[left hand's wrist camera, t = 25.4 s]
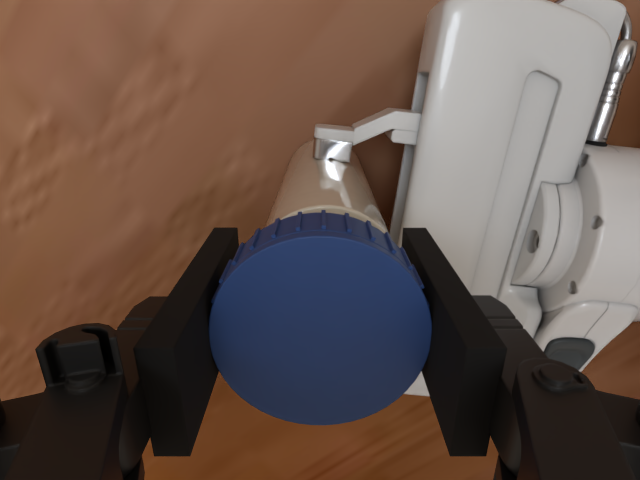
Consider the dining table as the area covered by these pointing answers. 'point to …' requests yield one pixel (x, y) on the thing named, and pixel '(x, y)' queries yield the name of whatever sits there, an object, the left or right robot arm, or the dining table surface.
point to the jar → (325, 189)
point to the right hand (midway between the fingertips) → (307, 202)
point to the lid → (320, 320)
